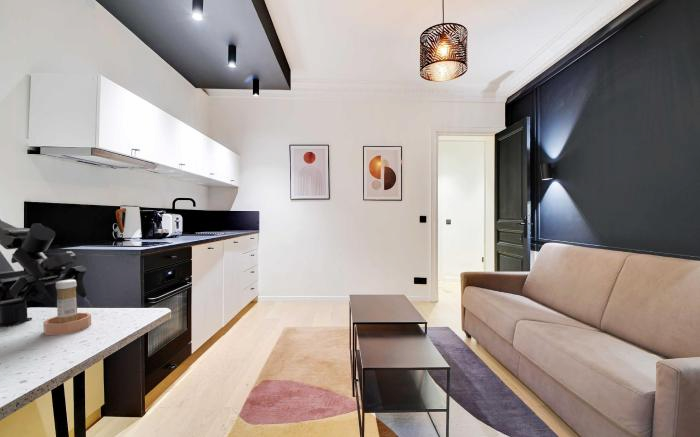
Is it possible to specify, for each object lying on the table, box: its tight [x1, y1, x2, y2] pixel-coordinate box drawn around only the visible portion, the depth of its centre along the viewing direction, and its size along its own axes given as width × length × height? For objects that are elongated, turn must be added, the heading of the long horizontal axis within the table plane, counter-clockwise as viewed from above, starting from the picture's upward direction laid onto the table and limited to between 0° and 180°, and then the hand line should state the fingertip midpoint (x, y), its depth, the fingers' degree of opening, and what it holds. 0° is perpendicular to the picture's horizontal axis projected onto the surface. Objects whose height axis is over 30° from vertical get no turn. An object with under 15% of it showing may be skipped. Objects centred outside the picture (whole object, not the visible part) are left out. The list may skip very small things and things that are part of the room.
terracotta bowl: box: [43, 312, 92, 336], centre depth 96 cm, size 10×10×3 cm
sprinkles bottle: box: [55, 280, 78, 324], centre depth 96 cm, size 5×5×13 cm
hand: (71, 300), depth 96 cm, fingers open, 9 cm apart
